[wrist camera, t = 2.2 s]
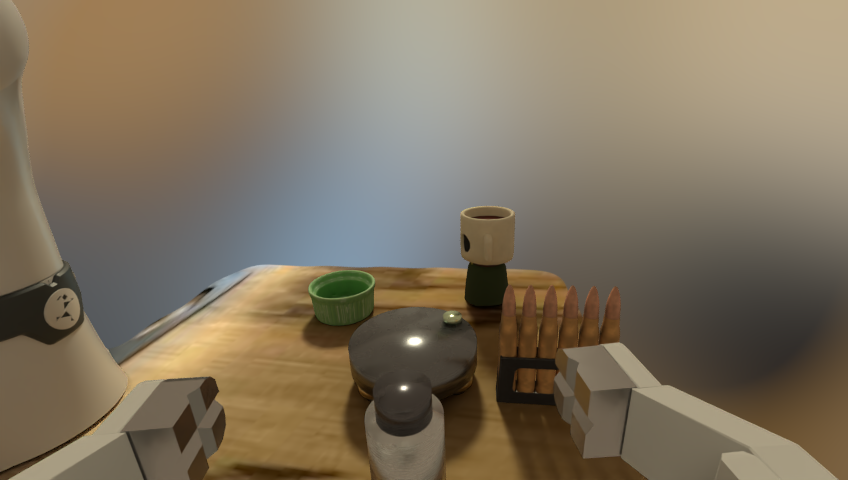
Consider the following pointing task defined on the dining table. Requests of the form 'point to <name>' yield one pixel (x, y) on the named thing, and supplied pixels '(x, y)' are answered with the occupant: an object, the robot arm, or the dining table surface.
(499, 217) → the character mug
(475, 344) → the grey lid
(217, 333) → the dining table surface
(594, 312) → the ammunition clip
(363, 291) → the ramekin
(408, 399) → the clear bottle
